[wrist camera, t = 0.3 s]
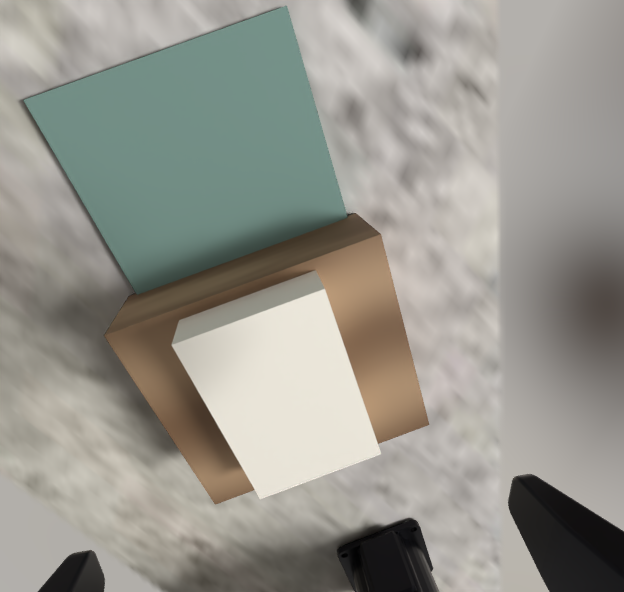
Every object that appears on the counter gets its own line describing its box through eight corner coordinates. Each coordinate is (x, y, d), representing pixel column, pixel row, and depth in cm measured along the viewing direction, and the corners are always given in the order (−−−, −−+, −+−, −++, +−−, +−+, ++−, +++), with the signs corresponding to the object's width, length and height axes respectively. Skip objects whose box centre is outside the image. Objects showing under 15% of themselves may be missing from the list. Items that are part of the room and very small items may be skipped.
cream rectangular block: (368, 424, 20) (381, 453, 19) (258, 465, 20) (260, 499, 19) (315, 269, 17) (325, 288, 15) (179, 320, 16) (171, 345, 15)
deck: (401, 379, 25) (429, 424, 21) (219, 447, 25) (215, 504, 21) (355, 213, 20) (380, 233, 16) (128, 296, 20) (104, 335, 16)
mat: (346, 216, 20) (347, 217, 20) (138, 292, 20) (137, 294, 20) (285, 7, 16) (286, 5, 16) (27, 100, 16) (23, 100, 16)
